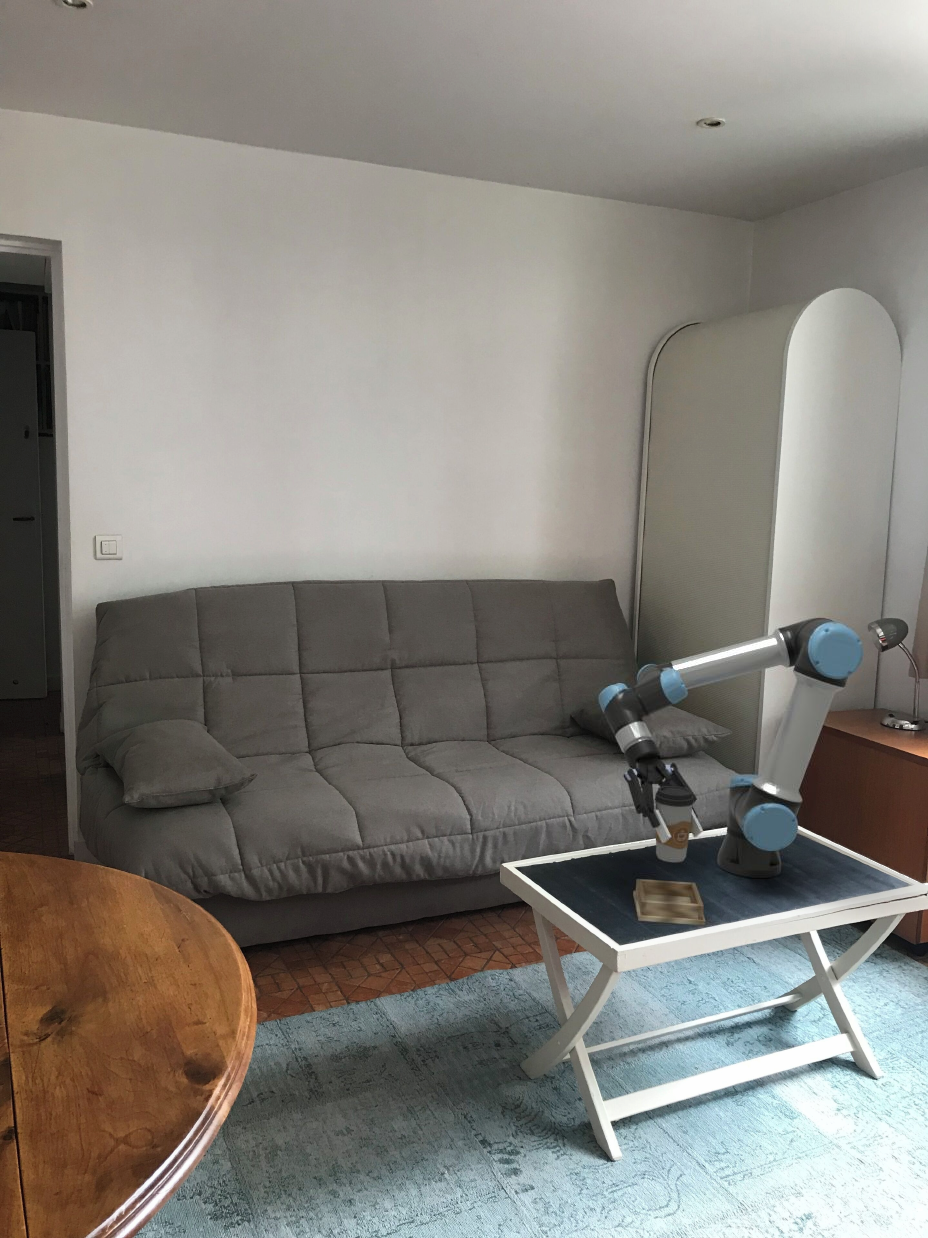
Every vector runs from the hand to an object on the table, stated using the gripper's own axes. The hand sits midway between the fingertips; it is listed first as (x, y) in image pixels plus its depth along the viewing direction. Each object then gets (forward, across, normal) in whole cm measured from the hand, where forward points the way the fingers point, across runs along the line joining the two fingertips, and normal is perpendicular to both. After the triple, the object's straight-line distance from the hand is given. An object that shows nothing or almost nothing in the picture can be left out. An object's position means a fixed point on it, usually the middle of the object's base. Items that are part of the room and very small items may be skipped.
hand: (682, 837), depth 213 cm
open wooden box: (+10, 0, -15) cm, 18 cm away
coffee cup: (+2, 0, -6) cm, 7 cm away
